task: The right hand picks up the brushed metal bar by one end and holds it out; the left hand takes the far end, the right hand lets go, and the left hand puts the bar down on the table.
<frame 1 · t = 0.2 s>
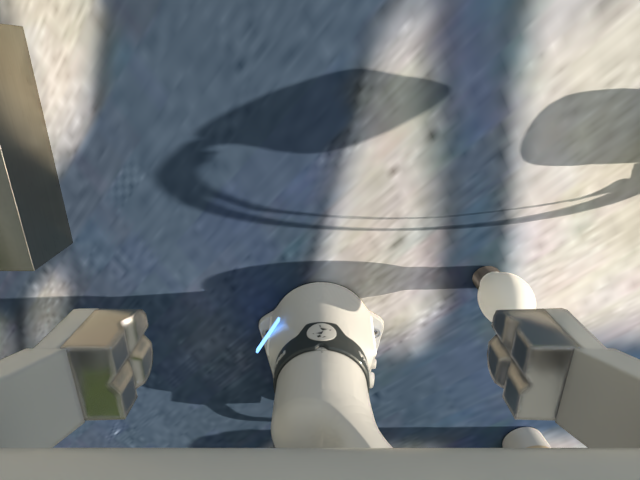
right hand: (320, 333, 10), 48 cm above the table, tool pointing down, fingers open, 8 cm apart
light bulb: (486, 275, 63), on the table
coffee cup: (522, 441, 75), on the table
bar: (33, 144, 56), on the table
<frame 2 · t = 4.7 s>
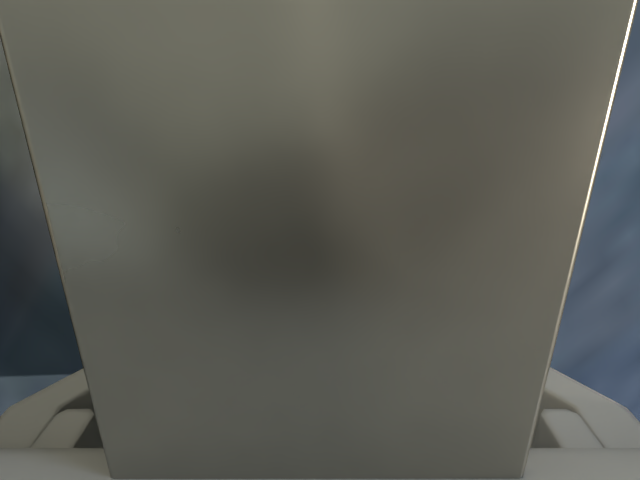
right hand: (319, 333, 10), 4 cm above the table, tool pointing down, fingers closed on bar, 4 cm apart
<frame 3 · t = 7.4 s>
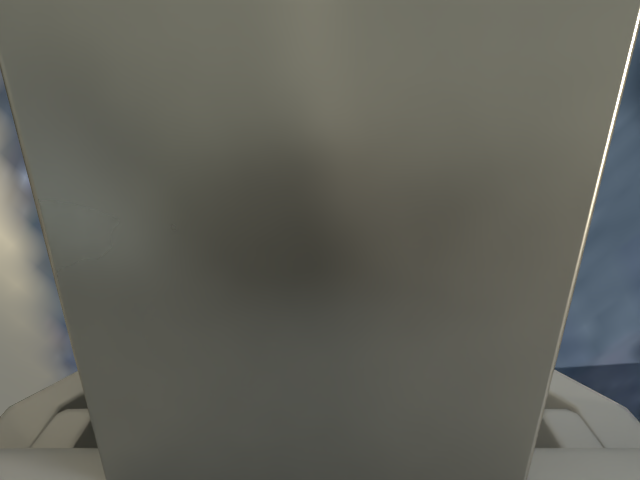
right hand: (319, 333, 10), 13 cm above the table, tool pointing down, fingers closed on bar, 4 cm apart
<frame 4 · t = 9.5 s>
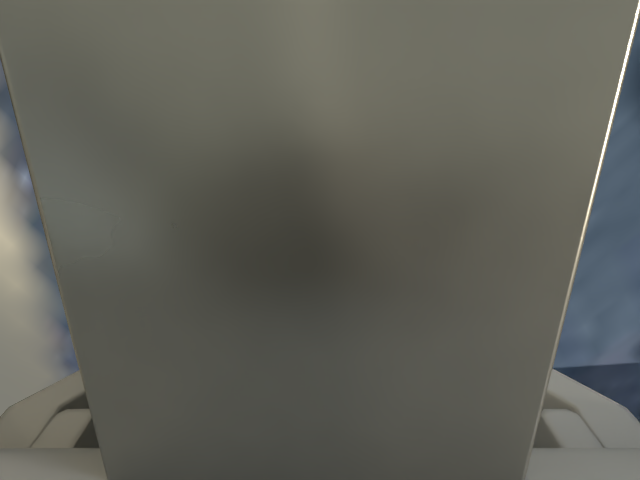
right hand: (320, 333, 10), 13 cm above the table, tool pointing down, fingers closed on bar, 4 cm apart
when the right hand's fingers open (13 cm above the table, at t = 10.4 s): bar stays where it is, held by the left hand.
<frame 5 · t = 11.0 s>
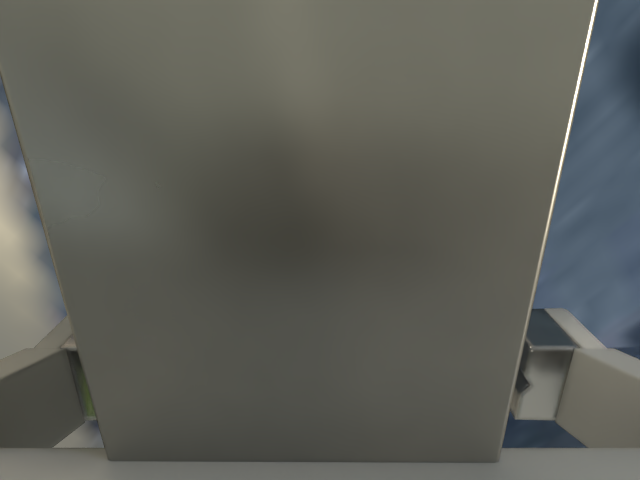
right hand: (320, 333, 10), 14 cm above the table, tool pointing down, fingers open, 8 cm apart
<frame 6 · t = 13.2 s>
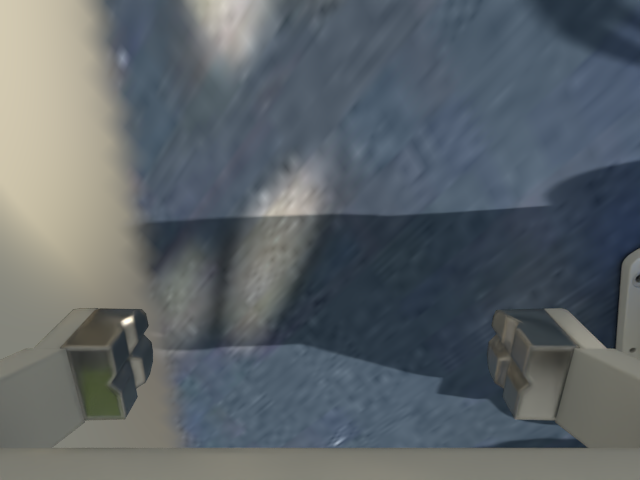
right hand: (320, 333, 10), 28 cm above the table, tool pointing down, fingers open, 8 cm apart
when the left hand's fingers open (5 cm above the table, at t = 16.8 s): bar drops 1 cm, on the table.
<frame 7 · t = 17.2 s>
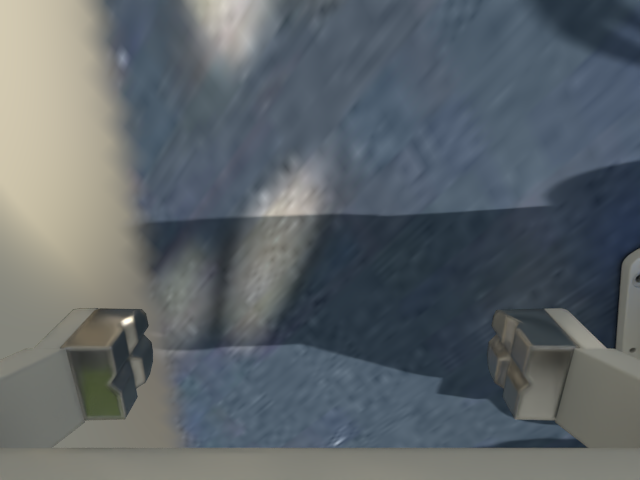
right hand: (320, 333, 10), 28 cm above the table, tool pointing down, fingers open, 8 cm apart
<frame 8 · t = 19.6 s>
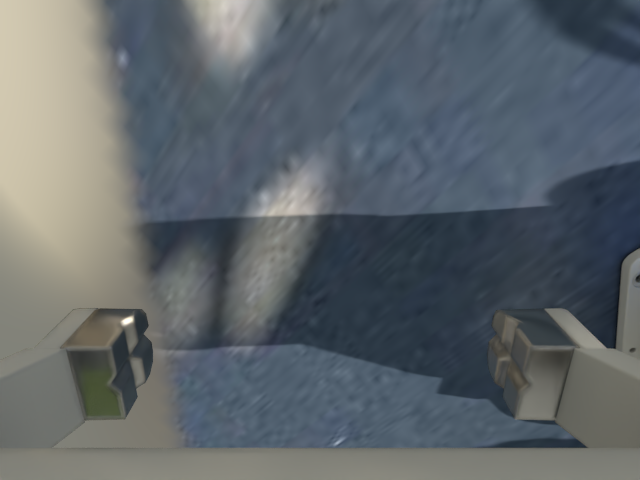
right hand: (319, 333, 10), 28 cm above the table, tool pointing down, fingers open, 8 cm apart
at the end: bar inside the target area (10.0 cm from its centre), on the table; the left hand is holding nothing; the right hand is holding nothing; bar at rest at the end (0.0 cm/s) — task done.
